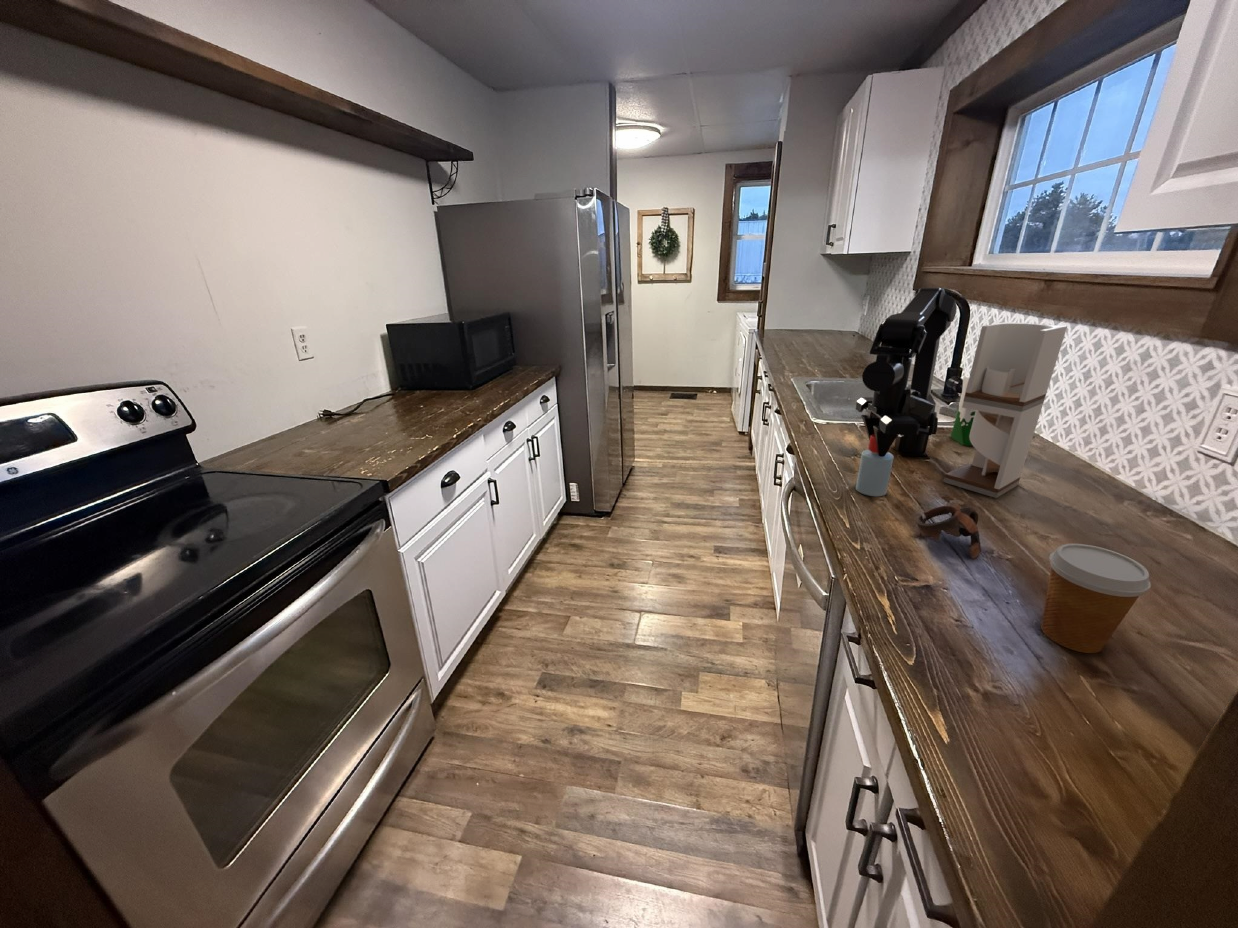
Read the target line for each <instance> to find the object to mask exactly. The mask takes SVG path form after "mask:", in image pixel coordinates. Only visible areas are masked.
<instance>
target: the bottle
mask: <svg viewBox="0 0 1238 928" xmlns="http://www.w3.org/2000/svg"><path fill="white" fill-rule="evenodd" d="M894 459H895V458H894V455H893V454H892V453H891V452H888V453H886V455H885V456H884V457H881V456H879V454H878V453H875V452H872V451H870V450H869V449H865V450H863V451H862V452H861V455H860V463H859V468H858V473H857V479H856V483H855V484H856V485H855V490H856V492H858V493H860V494H863V495H865V496H870V497H883V496H886V494H887V493H888V487H889V482H890V477H891V473H892V469H893V463H894V462H893V461H894Z"/></svg>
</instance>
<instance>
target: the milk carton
mask: <svg viewBox="0 0 1238 928" xmlns="http://www.w3.org/2000/svg"><path fill="white" fill-rule="evenodd" d="M969 377H970V375H963V376H962V389H961V396H960V399H959V403H958V408H957V412H956V415H955V420H954V423H953V427H952V430H951V433H950V436H949V438H950V439H952V440H954V441H955V442H957V443H959V444H960V445H962V446H973V445H972V444H971V442H970V439H969V435H970V431H971V427H972V423H973V419H974V416H975V412H976V410H972V409H967V408H962V405H963V401H964V397H965V393H966V389H967V385H968V381H969ZM973 447H974V446H973Z"/></svg>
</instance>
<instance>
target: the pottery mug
mask: <svg viewBox="0 0 1238 928" xmlns="http://www.w3.org/2000/svg"><path fill="white" fill-rule="evenodd" d="M923 514H924V516H925V517H924V516H923V515H922V514H921V515H919V516H917V517H916V518H915V524H916V526H917V527H916V529H915V533H916V535H918V536H919V537H923V538H931V539H933V540H934V541H936V542H940V540H939V539H940V536H941V533H942V532H944V533H945V534H946V535H950V536H952V537H953V538H960V537H964V538H967V537H970V546H969V547H968V551H969V553H970V559H972V560H974V559H976V558H978V557H979V556H980V554H981V552H982V547H981V538H980V532H979V528H978V526H977V525H978V522H979V513H978V512H977V510H976V509H975V508H973V507H971V506H965V507H962V508H961V507H958V506H956V505H949V504H948V505H941V506H940V505H939V506H936V507H933V508H930V509H927V510H926V511H924V512H923ZM949 514H951V515H950V517H948V518H947V519H944V520H940V521H937V522H931V523H930V522H929V523H927V522H928V521H930V520H931V519H934V518H935V517H939V516H944V515H949Z"/></svg>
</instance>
